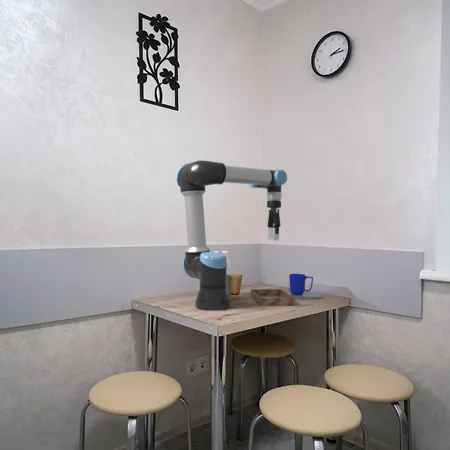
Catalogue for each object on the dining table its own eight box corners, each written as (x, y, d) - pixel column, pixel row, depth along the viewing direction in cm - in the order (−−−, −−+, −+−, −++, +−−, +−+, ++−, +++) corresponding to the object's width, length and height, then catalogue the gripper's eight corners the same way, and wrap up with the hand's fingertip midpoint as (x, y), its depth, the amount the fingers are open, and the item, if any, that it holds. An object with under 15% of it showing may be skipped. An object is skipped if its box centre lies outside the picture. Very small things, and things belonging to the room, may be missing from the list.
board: (287, 299, 179) (287, 296, 179) (280, 293, 193) (280, 291, 193) (322, 299, 180) (322, 296, 180) (312, 293, 194) (312, 291, 194)
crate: (259, 305, 162) (259, 297, 162) (250, 296, 185) (250, 289, 185) (293, 305, 163) (293, 298, 163) (281, 296, 186) (281, 289, 186)
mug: (313, 296, 181) (313, 276, 181) (288, 295, 183) (289, 275, 183) (312, 293, 189) (312, 274, 189) (288, 292, 191) (289, 273, 191)
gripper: (287, 198, 182) (286, 240, 182) (275, 202, 207) (274, 239, 206) (272, 198, 181) (271, 240, 181) (262, 201, 206) (262, 239, 206)
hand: (273, 239), depth 194 cm, fingers open, 13 cm apart
